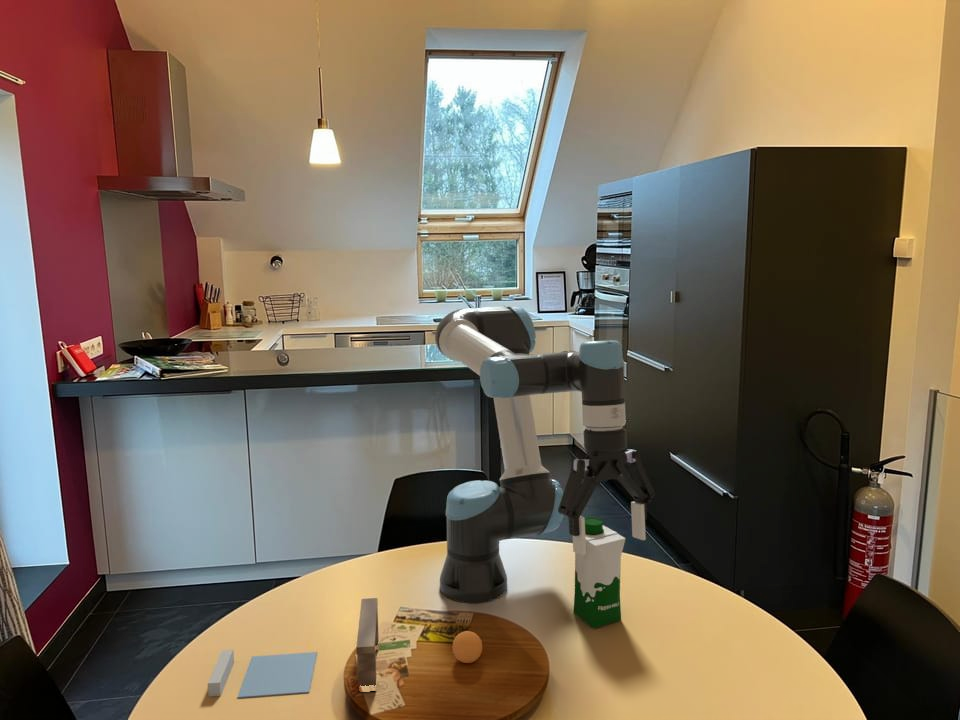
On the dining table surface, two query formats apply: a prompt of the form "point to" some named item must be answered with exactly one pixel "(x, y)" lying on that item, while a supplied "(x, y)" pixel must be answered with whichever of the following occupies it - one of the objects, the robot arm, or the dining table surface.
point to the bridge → (367, 642)
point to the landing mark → (278, 675)
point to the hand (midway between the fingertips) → (610, 545)
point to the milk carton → (598, 575)
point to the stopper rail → (221, 673)
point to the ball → (467, 647)
